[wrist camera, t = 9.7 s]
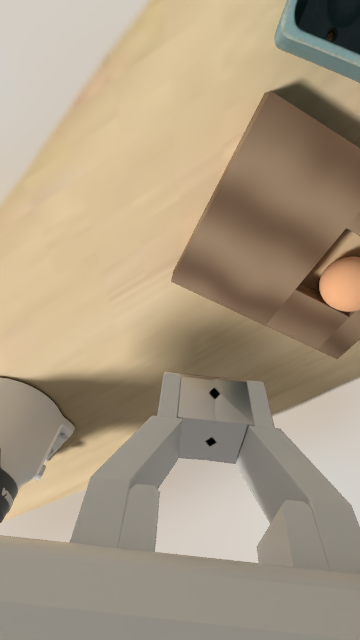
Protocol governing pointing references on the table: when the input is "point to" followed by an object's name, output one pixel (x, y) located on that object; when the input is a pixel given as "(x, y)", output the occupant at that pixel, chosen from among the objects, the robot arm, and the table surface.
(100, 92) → the table surface
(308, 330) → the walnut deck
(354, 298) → the rubber ball
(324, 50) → the flower pot
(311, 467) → the robot arm
